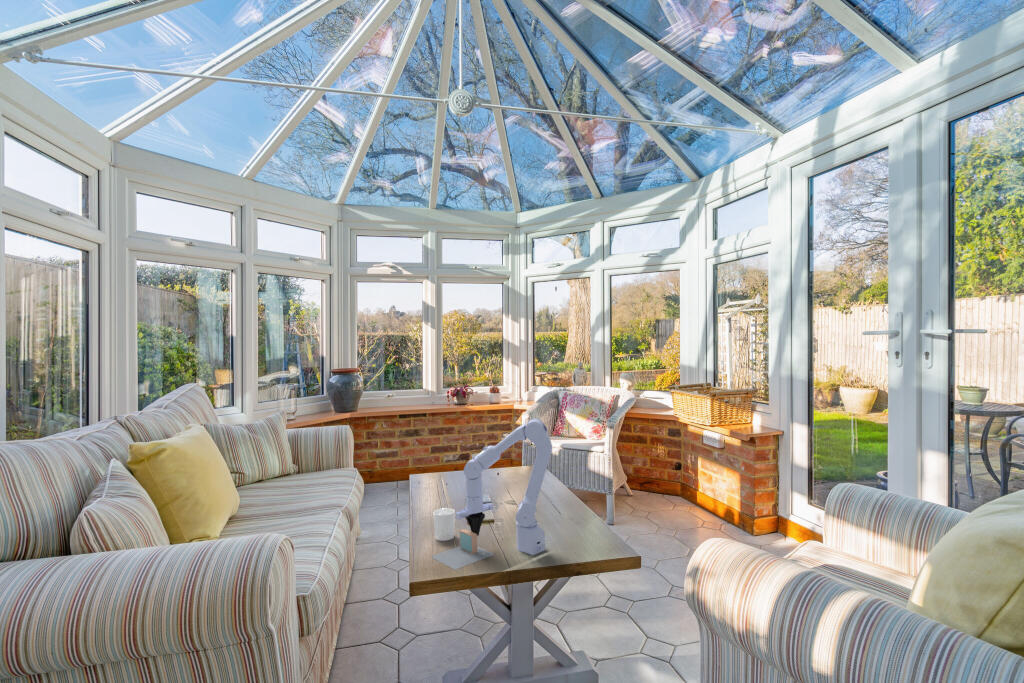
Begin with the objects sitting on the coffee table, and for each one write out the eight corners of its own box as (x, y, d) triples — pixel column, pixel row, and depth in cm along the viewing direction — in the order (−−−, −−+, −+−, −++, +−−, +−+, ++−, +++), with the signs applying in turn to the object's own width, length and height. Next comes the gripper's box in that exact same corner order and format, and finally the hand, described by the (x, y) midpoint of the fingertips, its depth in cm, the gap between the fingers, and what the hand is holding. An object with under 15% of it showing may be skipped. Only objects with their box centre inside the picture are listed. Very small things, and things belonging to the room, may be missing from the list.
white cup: (440, 545, 173) (439, 516, 173) (430, 538, 179) (429, 511, 179) (459, 539, 177) (458, 511, 178) (449, 533, 184) (448, 506, 184)
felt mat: (494, 556, 162) (494, 554, 162) (454, 572, 151) (454, 569, 151) (469, 545, 172) (469, 542, 172) (430, 558, 161) (430, 556, 161)
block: (477, 552, 164) (476, 534, 164) (472, 554, 162) (471, 535, 162) (465, 546, 169) (464, 528, 169) (460, 548, 168) (459, 530, 168)
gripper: (483, 488, 176) (484, 526, 176) (450, 497, 166) (451, 537, 166) (496, 492, 171) (497, 531, 170) (462, 501, 161) (463, 543, 161)
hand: (475, 535), depth 168 cm, fingers closed
